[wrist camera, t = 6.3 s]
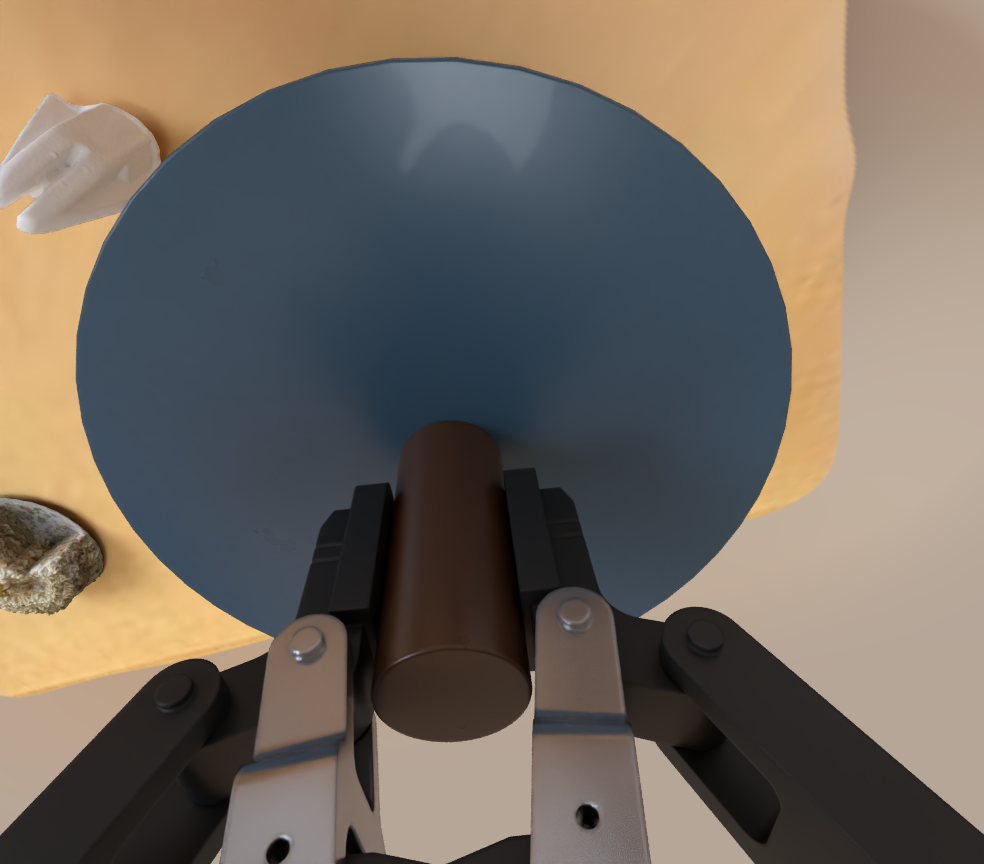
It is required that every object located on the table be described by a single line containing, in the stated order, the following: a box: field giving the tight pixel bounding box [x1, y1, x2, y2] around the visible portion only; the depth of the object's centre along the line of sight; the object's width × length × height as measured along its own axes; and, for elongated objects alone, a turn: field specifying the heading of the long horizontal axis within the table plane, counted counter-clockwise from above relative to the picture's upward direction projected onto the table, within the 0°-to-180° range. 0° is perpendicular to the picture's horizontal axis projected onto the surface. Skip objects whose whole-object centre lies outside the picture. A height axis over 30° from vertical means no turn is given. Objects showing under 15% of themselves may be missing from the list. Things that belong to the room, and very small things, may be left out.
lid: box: [76, 57, 792, 742], centre depth 12 cm, size 17×17×8 cm
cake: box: [0, 498, 104, 615], centre depth 42 cm, size 10×10×5 cm
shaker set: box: [0, 94, 162, 234], centre depth 27 cm, size 12×4×11 cm, turn 11°
